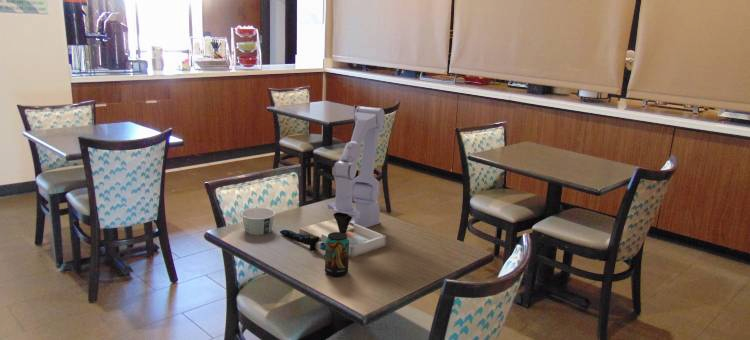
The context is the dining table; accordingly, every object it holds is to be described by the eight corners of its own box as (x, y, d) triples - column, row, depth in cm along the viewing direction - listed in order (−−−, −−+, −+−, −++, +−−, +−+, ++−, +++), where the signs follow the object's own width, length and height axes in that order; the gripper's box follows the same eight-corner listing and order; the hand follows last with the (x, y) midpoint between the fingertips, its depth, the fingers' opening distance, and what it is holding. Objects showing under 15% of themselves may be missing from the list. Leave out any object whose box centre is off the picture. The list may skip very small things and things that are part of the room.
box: (355, 233, 203) (355, 223, 202) (385, 245, 193) (386, 235, 192) (321, 243, 192) (321, 234, 191) (351, 257, 182) (351, 247, 181)
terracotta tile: (349, 236, 197) (349, 231, 196) (357, 240, 194) (358, 235, 193) (339, 239, 194) (339, 234, 193) (348, 243, 191) (348, 238, 190)
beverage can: (329, 279, 166) (330, 241, 163) (321, 269, 172) (322, 232, 169) (351, 275, 169) (352, 238, 166) (343, 266, 175) (344, 230, 172)
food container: (234, 228, 202) (234, 211, 200) (264, 222, 210) (264, 205, 208) (252, 239, 193) (252, 221, 192) (281, 231, 201) (282, 214, 199)
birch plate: (333, 223, 211) (333, 218, 210) (355, 233, 203) (355, 227, 202) (299, 233, 200) (299, 228, 199) (321, 243, 192) (321, 238, 191)
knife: (341, 257, 179) (340, 243, 178) (333, 259, 177) (333, 245, 176) (286, 237, 201) (285, 225, 200) (279, 239, 199) (278, 227, 198)
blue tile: (357, 240, 194) (358, 235, 193) (367, 244, 191) (367, 238, 190) (348, 243, 191) (348, 238, 190) (357, 247, 188) (357, 242, 187)
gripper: (321, 192, 194) (320, 229, 197) (350, 203, 184) (348, 241, 188) (336, 188, 199) (335, 225, 202) (365, 199, 189) (363, 236, 193)
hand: (342, 232), depth 195 cm, fingers closed
